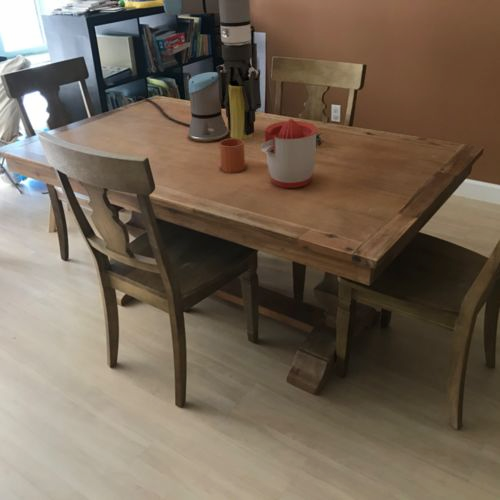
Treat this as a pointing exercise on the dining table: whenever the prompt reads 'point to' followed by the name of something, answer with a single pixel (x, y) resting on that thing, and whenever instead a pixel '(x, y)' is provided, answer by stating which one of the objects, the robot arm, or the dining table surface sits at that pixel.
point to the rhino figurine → (318, 139)
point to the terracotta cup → (232, 155)
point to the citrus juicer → (290, 152)
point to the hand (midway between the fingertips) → (241, 131)
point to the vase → (237, 112)
